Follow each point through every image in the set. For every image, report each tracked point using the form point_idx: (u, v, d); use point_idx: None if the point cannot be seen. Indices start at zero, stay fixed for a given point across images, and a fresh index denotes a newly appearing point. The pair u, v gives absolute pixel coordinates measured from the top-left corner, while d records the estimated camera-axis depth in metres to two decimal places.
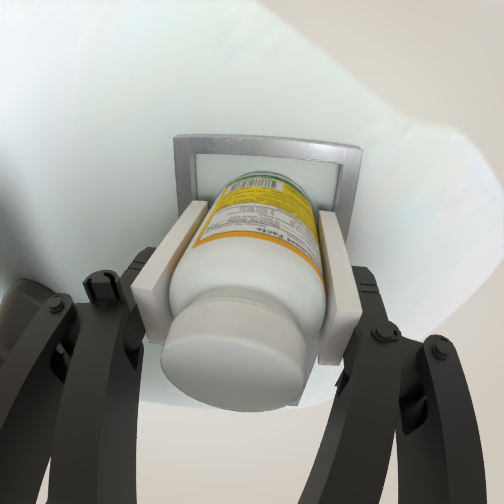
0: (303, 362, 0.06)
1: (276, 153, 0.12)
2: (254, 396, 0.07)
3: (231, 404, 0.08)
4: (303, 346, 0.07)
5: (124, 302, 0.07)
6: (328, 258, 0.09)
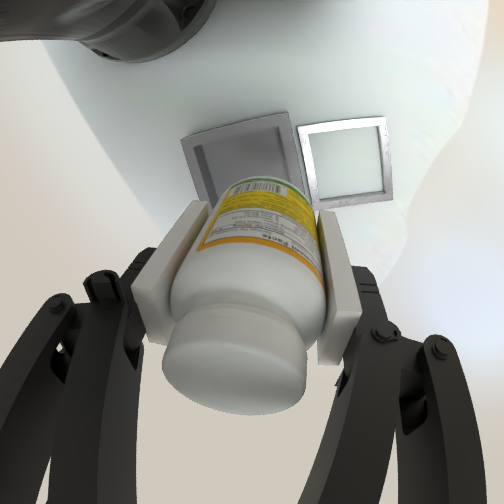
0: (304, 369, 0.07)
1: (385, 164, 0.24)
2: (253, 400, 0.07)
3: (230, 408, 0.08)
4: (304, 353, 0.07)
5: (124, 302, 0.07)
6: (328, 258, 0.09)
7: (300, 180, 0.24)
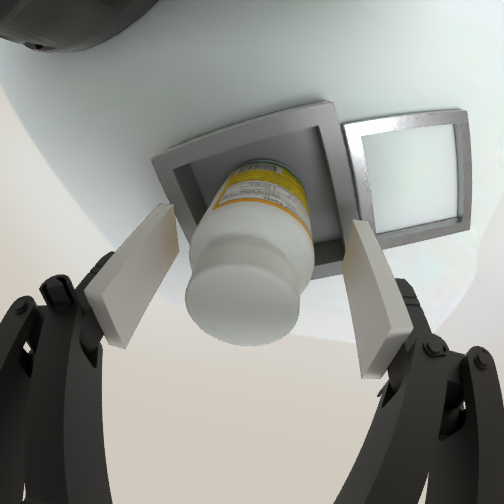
0: (297, 293, 0.09)
1: (465, 181, 0.14)
2: (258, 326, 0.10)
3: (238, 338, 0.10)
4: (297, 283, 0.09)
5: (77, 303, 0.07)
6: (372, 271, 0.09)
7: (355, 216, 0.14)
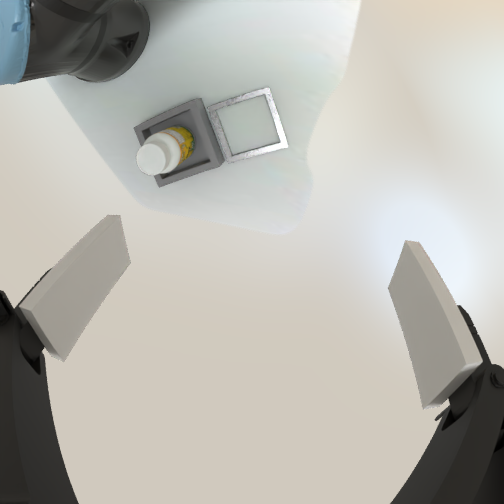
0: (165, 152, 0.29)
1: (275, 121, 0.34)
2: (155, 165, 0.30)
3: (150, 171, 0.30)
4: (166, 150, 0.29)
5: (14, 315, 0.06)
6: (438, 302, 0.07)
7: (209, 141, 0.34)
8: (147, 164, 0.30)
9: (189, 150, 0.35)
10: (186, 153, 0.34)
